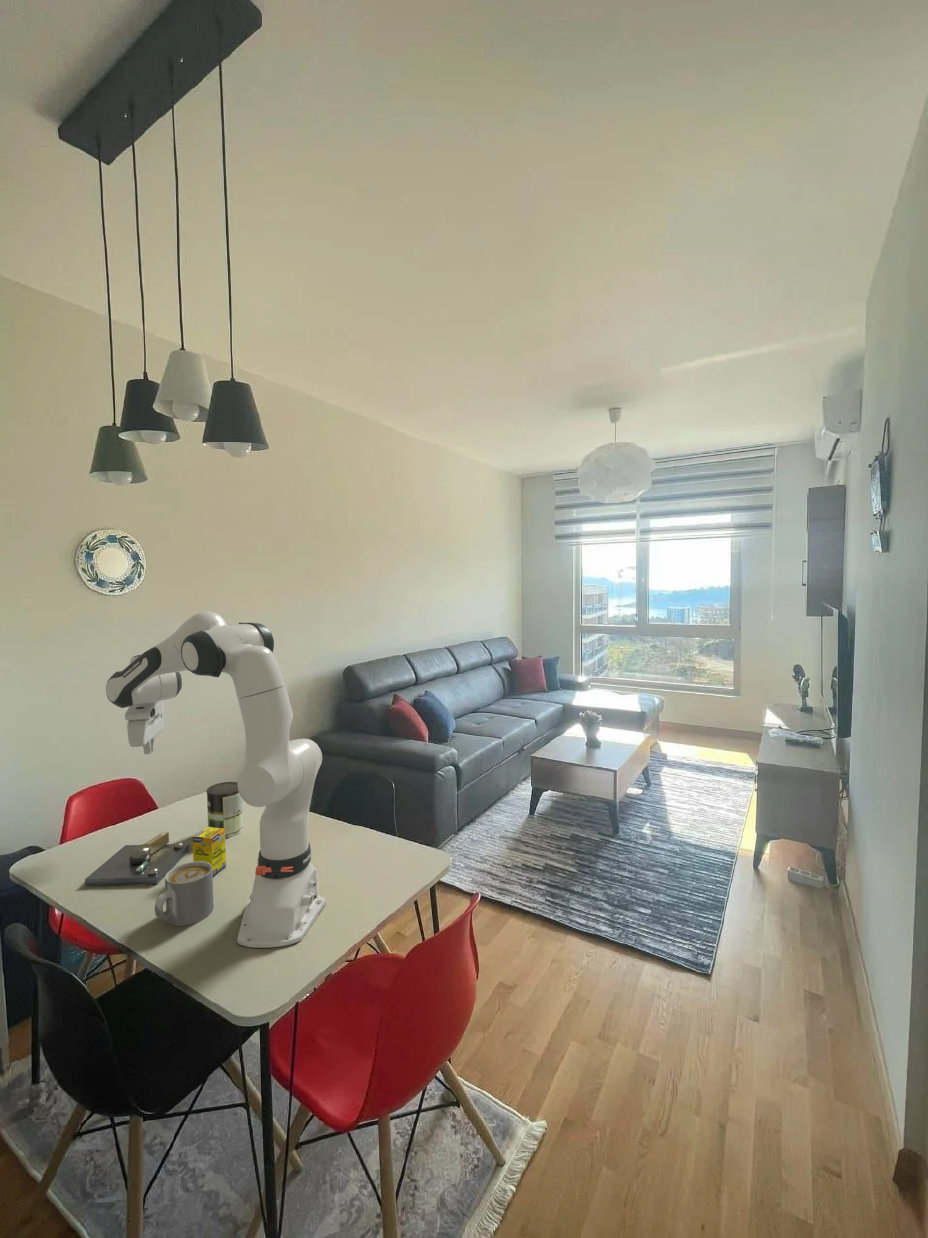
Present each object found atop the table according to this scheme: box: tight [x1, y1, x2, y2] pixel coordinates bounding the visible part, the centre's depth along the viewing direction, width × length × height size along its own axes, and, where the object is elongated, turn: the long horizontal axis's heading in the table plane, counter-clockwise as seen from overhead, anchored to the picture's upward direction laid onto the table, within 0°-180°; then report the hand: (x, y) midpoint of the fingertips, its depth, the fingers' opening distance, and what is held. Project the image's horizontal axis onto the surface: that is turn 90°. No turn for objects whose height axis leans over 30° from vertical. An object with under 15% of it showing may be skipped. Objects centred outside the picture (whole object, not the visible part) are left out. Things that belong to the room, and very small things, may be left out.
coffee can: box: [206, 781, 244, 839], centre depth 170 cm, size 10×10×14 cm
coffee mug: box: [154, 861, 214, 927], centre depth 126 cm, size 13×10×10 cm
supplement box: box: [192, 826, 227, 878], centre depth 146 cm, size 6×6×11 cm
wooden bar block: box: [129, 831, 170, 864], centre depth 152 cm, size 12×5×3 cm, turn 170°
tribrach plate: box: [84, 841, 190, 888], centre depth 148 cm, size 18×18×3 cm
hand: (149, 752), depth 162 cm, fingers closed
